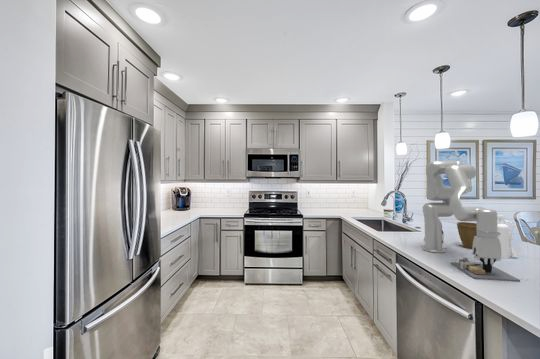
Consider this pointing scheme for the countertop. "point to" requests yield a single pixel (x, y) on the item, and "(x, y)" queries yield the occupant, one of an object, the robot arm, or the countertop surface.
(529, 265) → the countertop surface
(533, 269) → the countertop surface
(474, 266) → the oak link
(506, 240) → the white bottle
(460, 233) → the plant pot
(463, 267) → the steel keeper
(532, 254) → the countertop surface
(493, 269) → the charcoal mat
